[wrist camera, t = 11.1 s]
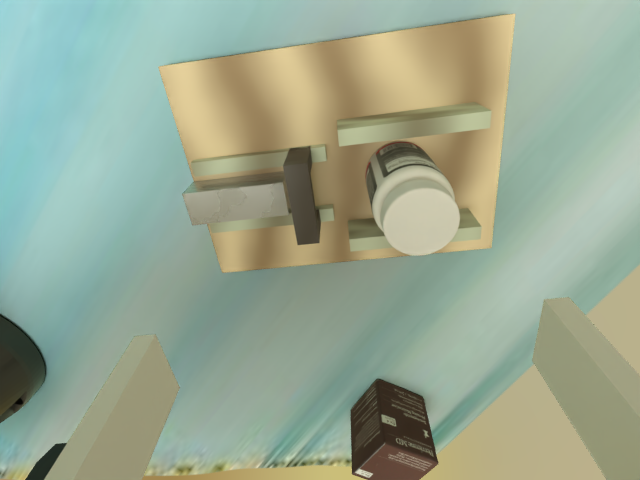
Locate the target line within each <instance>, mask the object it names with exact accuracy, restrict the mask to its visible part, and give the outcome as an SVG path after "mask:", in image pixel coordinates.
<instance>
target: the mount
mask: <svg viewBox="0 0 640 480" xmlns="http://www.w3.org/2000/svg"><path fill="white" fill-rule="evenodd" d="M514 22H515V14H506V15H499V16H492V17H486V18H479V19H472V20H465V21H459V22H452V23H445V24H438V25H432V26H425V27H418V28H412V29H405V30H398V31H391V32H385V33H378V34H371V35H365V36H358V37H351V38H344V39H338V40H331V41H324V42H318V43H311V44H304V45H297V46H291V47H284V48H277V49H271V50H264V51H257V52H250V53H244V54H237V55H230V56H224V57H217V58H210V59H203V60H197V61H190V62H183V63H177V64H170V65H165V66H160V67H158V68H159V71H160V74H161V77H162V80H163V84H164V87H165V90H166V93H167V97H168V100H169V103H170V106H171V109H172V113H173V116H174V119H175V122H176V125H177V129H178V132H179V135H180V138H181V142H182V145H183V148H184V151H185V154H186V158H187V161H188V164H189V167H190V171H191V174H192V177H193V180H194V182H196V181H204V180H213V179H221V178H230V177H238V176H247V175H255V174H264V173H273V172H281V171H284V175H285V180H286V186H287V191H288V196H289V202H290V207H291V208H290V212H289V215H285V216H275V217H266V218H256V219H247V220H237V221H228V222H218V223H209V224H207V225H208V228H209V232H210V235H211V238H212V241H213V244H214V248H215V251H216V254H217V257H218V261H219V264H220V267H221V270H222V273H226V272H237V271H248V270H258V269H269V268H280V267H291V266H302V265H313V264H323V263H334V262H345V261H356V260H367V259H377V258H388V257H399V256H410V255H408V254H405V253H402V252H400V251H398V250H396V249H395V248H394V247H392V246H391V245H390V243H389V242H388V241H387V239H386V237H385V235H384V232H383V231H382V230H381V229H380V228H379V227H378V225H377V223H376V221H375V219H374V216H373V213H372V208H371V204H370V199H369V195H368V190H367V185H366V180H365V173H366V167H367V164H368V162H369V160H370V158H371V157H372V156H373V154H374V153H375V152H376V151H377V150H379V149H380V148H381V147H383V146H385V145H387V144H389V143H392V142H397V141H405V142H411V143H414V144H416V145H418V146H419V147H421V148H422V149H423V150H424V151H425V152H426V153H427V154H428V156H429V157H430V158H431V159H432V160H433V162H434V163H435V165H436V166H437V167H438V168H439V169H440V171H441V172H442V173H443V175H444V176H445V177H446V178H447V180H448V181H449V183H450V185H451V187H452V189H453V192H454V196H455V202H456V204H457V206H458V208H459V213H460V223H459V227H458V230H457V232H456V234H455V236H454V237H453V239H452V240H451V241H450V242H449V243H448V244H447V245H446V246H444V247H443V248H442V249H440V250H438V251H436V252H434V253H442V252H453V251H464V250H475V249H486V248H491V246H492V237H493V227H494V217H495V207H496V198H497V188H498V178H499V168H500V159H501V149H502V139H503V129H504V120H505V110H506V100H507V91H508V81H509V71H510V61H511V52H512V42H513V32H514ZM431 254H432V253H431Z"/></svg>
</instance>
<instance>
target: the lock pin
mask: <svg viewBox="0 0 640 480" xmlns="http://www.w3.org/2000/svg"><path fill="white" fill-rule="evenodd" d="M182 195H183V198H184V201H185V204H186V207H187V210H188V213H189V216H190V219H191V222H192V225H199V224H209V223H218V222H228V221H237V220H247V219H256V218H266V217H275V216H285V215H289V212H290V208H291V207H290V202H289V196H288V191H287V186H286V180H285V175H284V171H281V172H273V173H264V174H255V175H247V176H238V177H230V178H221V179H213V180H204V181H196V182H193V183H192V184H191V185H190V186H189V187H188V188H187V189H186V191H185V192H184V193H183V194H182Z"/></svg>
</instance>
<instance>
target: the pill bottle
mask: <svg viewBox="0 0 640 480" xmlns="http://www.w3.org/2000/svg"><path fill="white" fill-rule="evenodd" d="M365 180H366V185H367V190H368V195H369V199H370V204H371V208H372V213H373V216H374V219H375V221H376V223H377V225H378V227H379V228H380V229H381V230H382V231H383V232H384V235H385V237H386V239H387V241H388V242H389V243H390V245H391V246H392V247H394V248H395V249H396V250H398V251H400V252H402V253H405V254H408V255H416V256H421V255H427V254H431V253H434V252H436V251H438V250H440V249H442V248H443V247H444V246H446V245H447V244H448V243H449V242H450V241H451V240H452V239H453V237H454V236H455V234H456V232H457V230H458V227H459V223H460V213H459V208H458V206H457V204H456V202H455V196H454V192H453V189H452V187H451V185H450V183H449V181H448V180H447V178H446V177H445V176H444V175H443V173H442V172H441V171H440V169H439V168H438V167H437V166H436V165H435V163H434V162H433V160H432V159H431V158H430V157H429V156H428V154H427V153H426V152H425V151H424V150H423V149H422V148H421V147H419V146H418V145H416V144H414V143H411V142H405V141H397V142H392V143H389V144H387V145H385V146H383V147H381V148H380V149H379V150H377V151H376V152H375V153H374V154H373V156H372V157H371V158H370V160H369V162H368V164H367V167H366V173H365Z"/></svg>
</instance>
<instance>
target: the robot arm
mask: <svg viewBox="0 0 640 480" xmlns="http://www.w3.org/2000/svg"><path fill="white" fill-rule="evenodd" d="M532 361H533V363H534V364H535V366H536V367H537V369H538V371H539V372H540V374H541V375H542V377H543V379H544V380H545V382H546V383H547V385H548V387H549V388H550V390H551V391H552V393H553V395H554V396H555V398H556V400H557V401H558V403H559V404H560V406H561V408H562V409H563V411H564V412H565V414H566V416H567V417H568V419H569V420H570V422H571V424H572V425H573V427H574V428H575V429H576V432H577V433H578V435H579V436H580V438H581V440H582V441H583V443H584V444H585V446H586V448H587V449H588V451H589V452H590V454H591V456H592V457H593V459H594V460H595V462H596V463H597V465H598V467H599V469H600V470H601V472H602V473H603V475H604V477H605V478H606V480H640V375H639V374H638V373H637V372H636V371H635V369H634V368H633V367H632V366H631V365H630V364H629V363H628V362H627V361H626V360H625V358H623V356H622V355H621V354H620V353H619V352H618V351H617V350H616V349H615V347H614V346H613V345H612V344H611V343H610V342H609V341H608V340H607V339H606V338H605V336H604V335H603V334H602V333H601V332H600V331H599V330H598V329H597V328H596V327H595V326H594V324H593V323H592V322H591V321H590V320H589V319H588V318H587V317H586V316H585V314H584V313H583V312H582V311H581V310H580V309H579V308H578V307H577V306H576V305H575V303H574V302H573V301H572V300H571V299H570V298H569V297H566V298H555V299H544V303H543V308H542V313H541V318H540V323H539V328H538V333H537V338H536V343H535V348H534V353H533V358H532ZM44 378H45V366H44V362H43V359H42V357H41V355H40V353H39V351H38V350H37V348H36V347H35V345H34V344H33V343H32V342H31V340H30V339H29V338H28V337H27V336H26V335H25V334H24V333H23V332H22V331H20V330H19V329H18V328H17V327H16V326H14V325H13V324H12V323H10V322H9V321H7V320H6V319H4V318H3V317H1V316H0V423H1V422H2V421H4V420H5V419H7V418H8V417H10V416H11V415H12V414H14V413H15V412H17V411H18V410H20V409H21V408H22V407H23V406H24V405H25V404H26V403H27V402H28V401H29V400H30V399H31V398H32V396H33V395H34V394H35V393H36V392H37V390H38V389H39V388H40V387H41V385H42V384H43V381H44ZM179 388H180V387H179V385H178V383H177V381H176V378H175V376H174V374H173V372H172V370H171V367H170V365H169V363H168V361H167V359H166V357H165V354H164V352H163V350H162V348H161V346H160V343H159V341H158V339H157V337H156V335H155V334H154V335H143V336H134V338H133V340H132V341H131V343H130V344H129V346H128V347H127V349H126V351H125V352H124V354H123V355H122V357H121V359H120V360H119V362H118V363H117V365H116V367H115V368H114V370H113V371H112V373H111V374H110V376H109V378H108V379H107V381H106V382H105V384H104V386H103V387H102V389H101V390H100V392H99V393H98V395H97V397H96V398H95V400H94V401H93V403H92V405H91V406H90V408H89V409H88V411H87V412H86V414H85V416H84V417H83V419H82V420H81V422H80V424H79V425H78V427H77V428H76V430H75V431H74V433H73V435H72V436H71V438H70V439H69V441H68V443H61V444H55V445H54V446H53V447H52V448H51V449H50V450H49V451H48V452H47V453H46V454H45V455H44V456H43V457H42V458H41V459H40V460H39V461H38V462H37V463H36V465H35V466H34V467H33V469H32V470H31V472H30V473H29V475H28V476H27V478H26V479H25V480H142V478H143V476H144V473H145V471H146V468H147V466H148V463H149V461H150V459H151V456H152V454H153V451H154V449H155V446H156V444H157V442H158V439H159V437H160V434H161V432H162V430H163V427H164V425H165V422H166V420H167V417H168V415H169V413H170V410H171V408H172V405H173V403H174V401H175V398H176V396H177V393H178V391H179Z"/></svg>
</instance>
